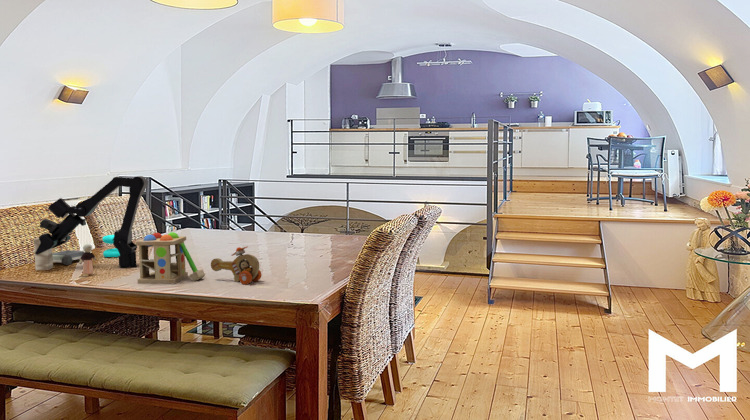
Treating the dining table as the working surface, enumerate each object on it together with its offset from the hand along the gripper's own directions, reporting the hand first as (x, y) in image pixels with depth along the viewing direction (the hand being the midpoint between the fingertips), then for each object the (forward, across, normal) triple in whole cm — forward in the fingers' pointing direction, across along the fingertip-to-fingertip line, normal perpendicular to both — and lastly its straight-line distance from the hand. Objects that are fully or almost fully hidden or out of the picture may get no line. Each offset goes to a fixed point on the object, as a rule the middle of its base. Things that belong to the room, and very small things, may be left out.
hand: (40, 252), depth 249 cm
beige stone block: (+4, 0, +6) cm, 7 cm away
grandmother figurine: (-12, +18, +23) cm, 31 cm away
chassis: (+2, -15, +8) cm, 18 cm away
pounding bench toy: (-38, +31, +48) cm, 68 cm away
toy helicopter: (-55, +39, +65) cm, 94 cm away
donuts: (-10, -29, +20) cm, 37 cm away
